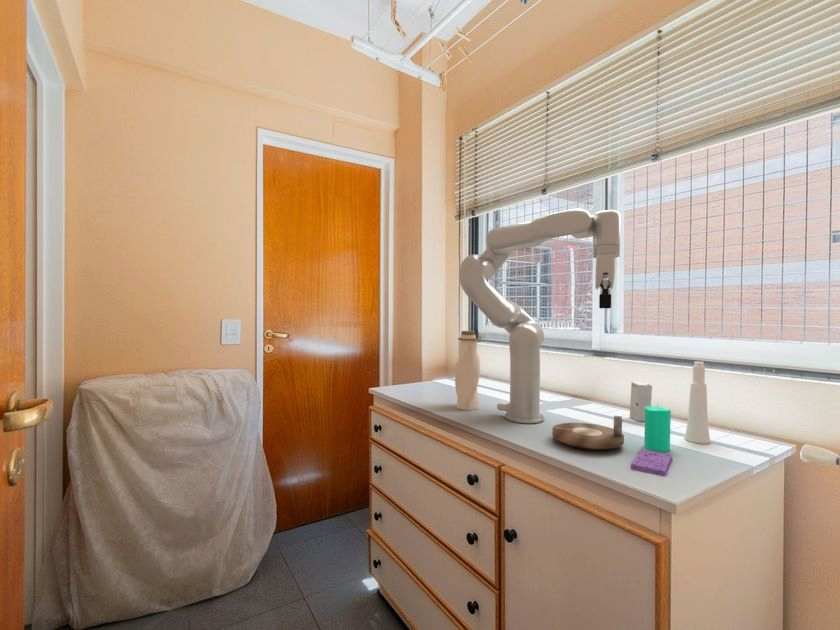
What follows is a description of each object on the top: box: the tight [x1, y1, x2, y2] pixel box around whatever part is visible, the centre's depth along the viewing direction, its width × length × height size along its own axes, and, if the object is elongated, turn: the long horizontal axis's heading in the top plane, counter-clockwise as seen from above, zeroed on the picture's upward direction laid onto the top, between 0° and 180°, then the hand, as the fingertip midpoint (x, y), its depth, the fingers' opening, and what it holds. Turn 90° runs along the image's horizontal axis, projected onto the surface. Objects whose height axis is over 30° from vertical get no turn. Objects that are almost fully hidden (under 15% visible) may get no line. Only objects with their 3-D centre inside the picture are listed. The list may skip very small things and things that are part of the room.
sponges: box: [630, 448, 673, 477], centre depth 99 cm, size 7×13×2 cm, turn 143°
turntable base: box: [566, 444, 608, 452], centre depth 114 cm, size 12×12×1 cm
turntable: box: [551, 415, 625, 450], centre depth 114 cm, size 18×18×7 cm
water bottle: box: [454, 330, 481, 411], centre depth 154 cm, size 10×9×28 cm
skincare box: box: [629, 381, 653, 422], centre depth 139 cm, size 6×4×12 cm
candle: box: [643, 402, 672, 453], centre depth 111 cm, size 6×6×12 cm
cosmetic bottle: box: [684, 361, 711, 445], centre depth 117 cm, size 6×6×22 cm
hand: (605, 308), depth 128 cm, fingers open, 9 cm apart
